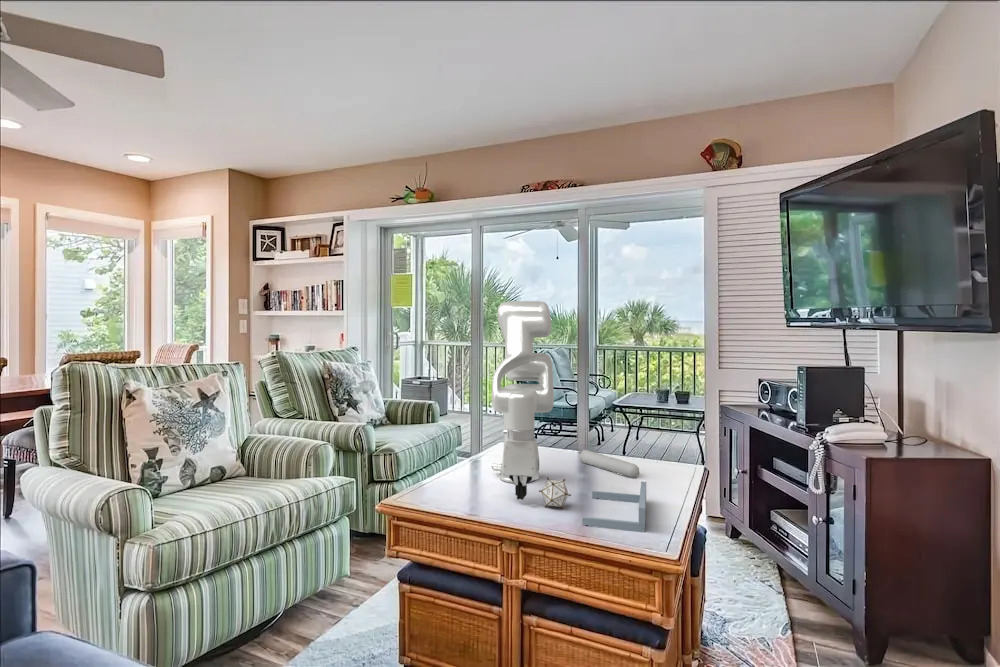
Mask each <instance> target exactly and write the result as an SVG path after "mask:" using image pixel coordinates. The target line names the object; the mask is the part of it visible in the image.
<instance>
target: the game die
mask: <svg viewBox="0 0 1000 667" xmlns="http://www.w3.org/2000/svg"><path fill="white" fill-rule="evenodd" d="M546 479H547V481H546V483H545V485H544V486H543V488H542V489H539V490H538V492H539V493H541V494H542V498H543V501H544V502H545V505H544V508H547V506H549V507H558V508H560V509H561V510H562V509H563V510H564V507H563V506H564V504H565V502H566V500H567V499H568V498H569V497H571V496H572V494H570V493H569V492H568V489H567V486H566V483H565V481H566V478H564V479H563V480H556V479H550V477H548V476H547V477H546Z"/></svg>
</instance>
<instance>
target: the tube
mask: <svg viewBox="0 0 1000 667" xmlns="http://www.w3.org/2000/svg"><path fill="white" fill-rule="evenodd" d="M579 455H580V456H579V460H580V462H582V464H586V463H587V464H586V465H589V464H590V466H592V465H594V466H593V467H595V466H597V467H596V468H598V467H600V468H599V469H601V468H603V469H602V470H605V469H606V470H605V471H608V470H609V472H611V471H612V472H611V473H614V472H615V473H614V474H617V473H619V474H618V475H620V474H622V475H621V476H623V475H624V477H627V478H630V479H634V478H637V477H638V476H640V472H641V471H640V468H639V466H638V465H637V464H635V463H631V462H629V461H625V460H623V459H619V458H615V457H611V456H608V455H604V454H601V453H598V452H595V451H591V450H589V449H582V451H581V453H580V454H579Z"/></svg>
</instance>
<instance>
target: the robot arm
mask: <svg viewBox="0 0 1000 667" xmlns="http://www.w3.org/2000/svg"><path fill="white" fill-rule="evenodd" d="M497 319H498V324H499V328H500V331H501V333H502V336H503V340H504V348H505V349H504V350H505V353H504V354H505V356H504V357H505V358H504V359H503V360H501V362H500V363H499V364H498V366H497V367H496V369H495V371H494V373H493V376H492V380H491V404H492V405H491V406H492V408H493V411H495V412H496V413H500V414H501V413H502V415H503V453H502V463H501V464H500V463H499V464H498V463H492V465H491V469H492V470H493V471H494V472H497V471H498V472H499V474H498V478H499V480H501V481H503V482H506V483H511V484H513V485H515V492H514V493H515V496H516V500H522V501H523V500H524V499H525V497H526V496H527V494H528V493H527V492H528V484H529V483H531V482H534V481H536V480H539V479H540V476H541V475H540V472H539V471H540V455H539V448H538V445H539V444H538V441H537V438H535V413H537V414H539V413H544V414H545V413H550V412H551V411H552V410H553V409H554V403H555V402H554V400H555V398H554V397H555V396H554V395H555V394H554V393H555V392H554V375H553V374H554V373H553V372H554V370H553V362H552V358H551V357H550V356H549V355H548V354H546V353H543V352H541V353H540V352H539V353H538V352H536V353H535V352H534V347H533V346H534V344H533V343H534V342H533V340H534V339H533V338H547V337H549V336H550V334H551V332H552V318H551V314H550V308H549V306H548V303H546V302H545V301H539V300H534V301H532V300H531V301H530V300H512V301H511V300H509V301H505V302H502V303H500V304H499V305H498V308H497ZM505 375H506V377H507V379H508V380H510V381H513V382H514V381H516V382H517V381H518V382H537V383H512V384H508V385H505V386H504V387H502V386H501V385H502V383H501V382H502V379H503V378H504V376H505Z"/></svg>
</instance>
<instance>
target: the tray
mask: <svg viewBox="0 0 1000 667" xmlns="http://www.w3.org/2000/svg"><path fill="white" fill-rule="evenodd" d="M639 490H640V491H639V494H635V493H623V492H614V491H613V492H611V491H598V490H592V491H591V499H594V498H599V499H598V500H604V499H610V500H609V501H615V500H619V501H618V502H625V501H626V503H638V521H632V520H630V521H629V520H622V519H621V520H620V519H610V518H603V517H602V518H601V517H592V516H582V524H581V525H582V526H583V525H589V526H588V527H593V526H597V527H596V528H602V527H604V529H611V528H612V529H611V530H620V531H621V530H622V531H632V532H639V533H645V531H646V516H647V481H643V480H642V481H640V489H639Z"/></svg>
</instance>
